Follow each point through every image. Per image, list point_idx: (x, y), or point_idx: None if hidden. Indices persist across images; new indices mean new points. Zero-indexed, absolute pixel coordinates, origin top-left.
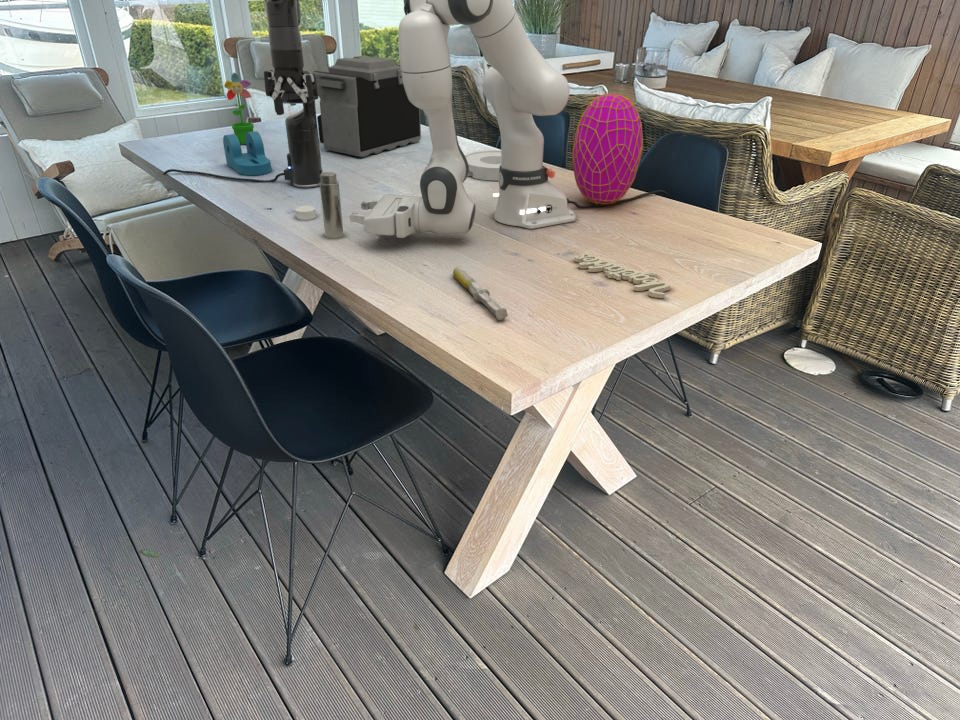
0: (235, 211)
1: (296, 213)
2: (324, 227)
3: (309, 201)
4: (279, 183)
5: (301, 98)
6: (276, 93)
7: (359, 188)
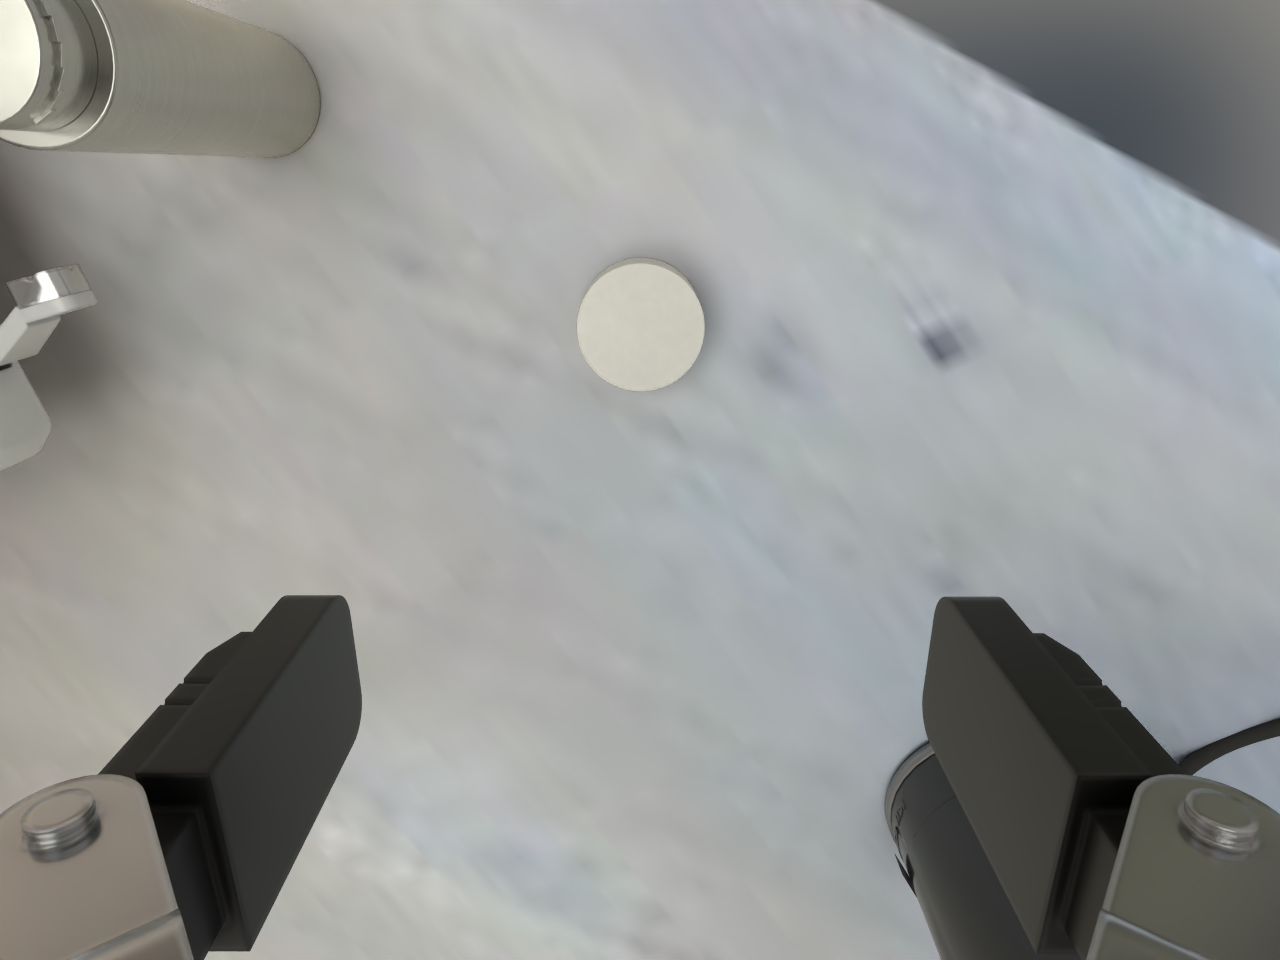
0: (1132, 211)
1: (674, 270)
2: (266, 36)
3: (793, 562)
4: None
5: (161, 858)
6: (1164, 923)
7: (663, 839)
